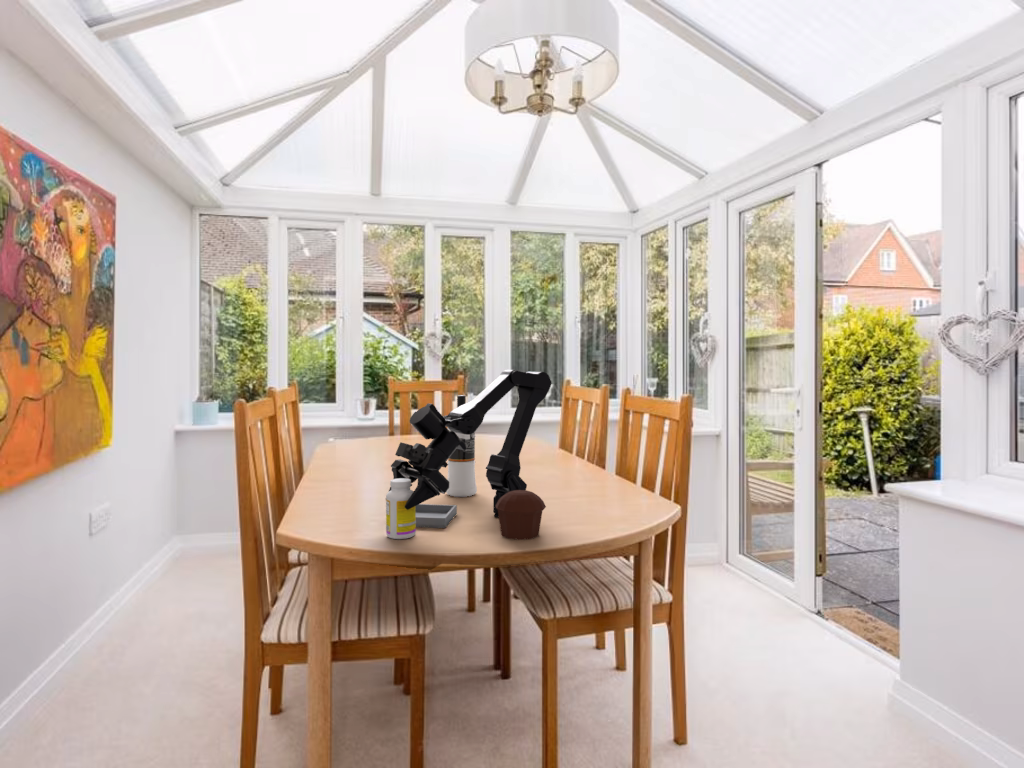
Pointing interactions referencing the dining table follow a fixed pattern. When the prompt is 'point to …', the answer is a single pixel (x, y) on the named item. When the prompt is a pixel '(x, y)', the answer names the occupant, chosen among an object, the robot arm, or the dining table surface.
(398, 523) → the supplement bottle
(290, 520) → the dining table surface
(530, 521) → the muffin
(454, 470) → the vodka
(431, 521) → the tray
